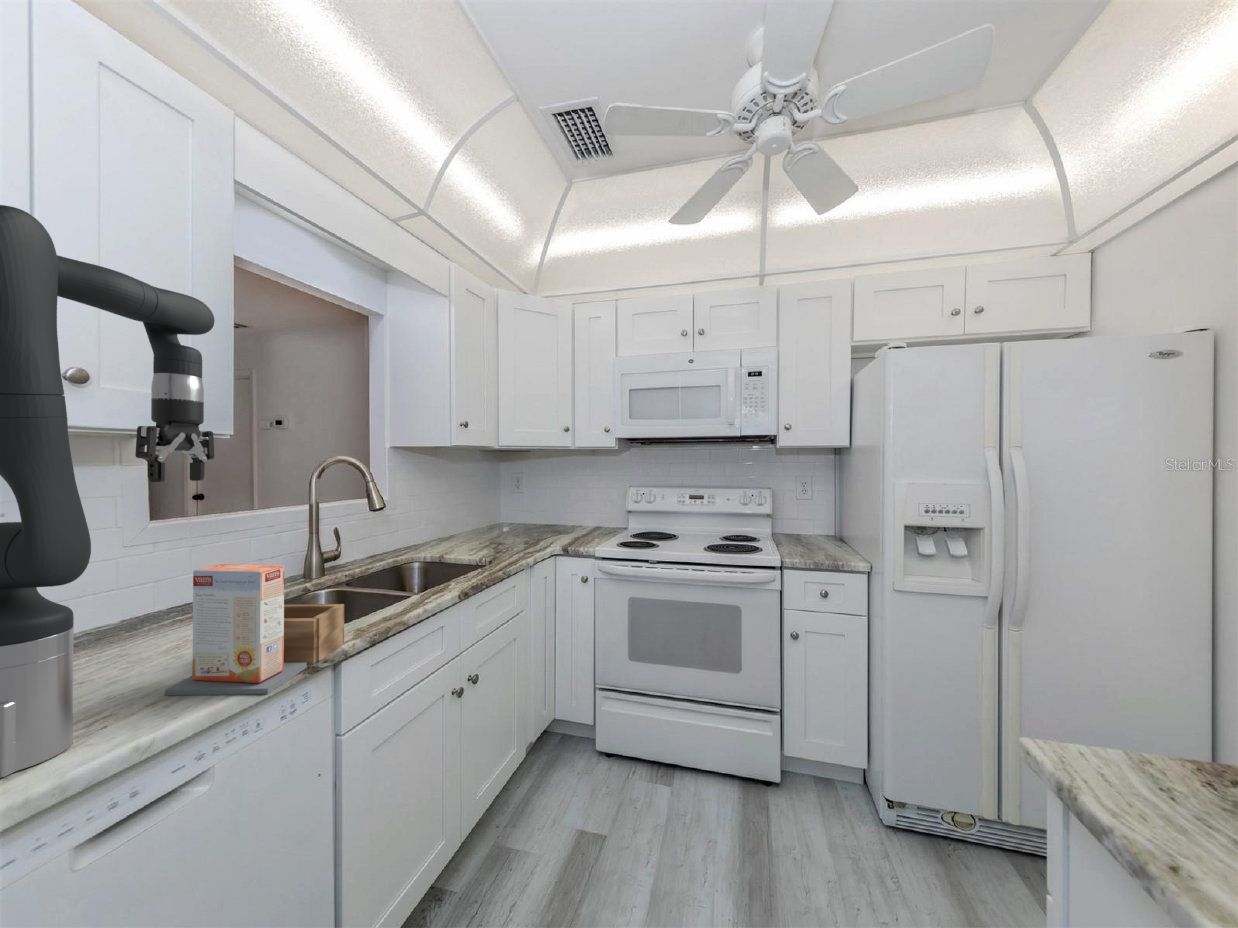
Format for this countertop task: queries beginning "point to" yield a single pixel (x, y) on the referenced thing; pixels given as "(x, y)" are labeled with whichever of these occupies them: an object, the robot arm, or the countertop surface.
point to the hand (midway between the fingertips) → (177, 481)
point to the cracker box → (238, 623)
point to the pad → (235, 684)
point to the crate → (312, 631)
